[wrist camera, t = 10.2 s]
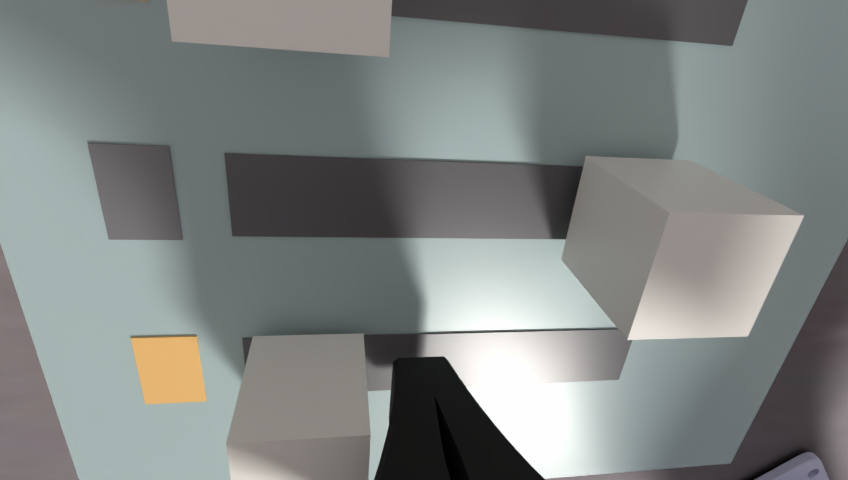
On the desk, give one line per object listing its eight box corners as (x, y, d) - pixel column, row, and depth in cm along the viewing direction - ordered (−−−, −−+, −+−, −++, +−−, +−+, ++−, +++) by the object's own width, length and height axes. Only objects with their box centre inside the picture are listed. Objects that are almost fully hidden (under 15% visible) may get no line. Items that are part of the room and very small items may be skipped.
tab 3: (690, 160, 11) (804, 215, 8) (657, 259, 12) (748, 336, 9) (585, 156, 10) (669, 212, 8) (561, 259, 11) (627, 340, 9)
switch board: (915, -77, 12) (1021, -89, 10) (693, 418, 19) (731, 464, 17) (-63, -221, 8) (-177, -281, 6) (119, 454, 15) (89, 517, 13)
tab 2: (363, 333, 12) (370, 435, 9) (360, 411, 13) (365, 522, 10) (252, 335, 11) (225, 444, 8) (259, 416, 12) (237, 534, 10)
